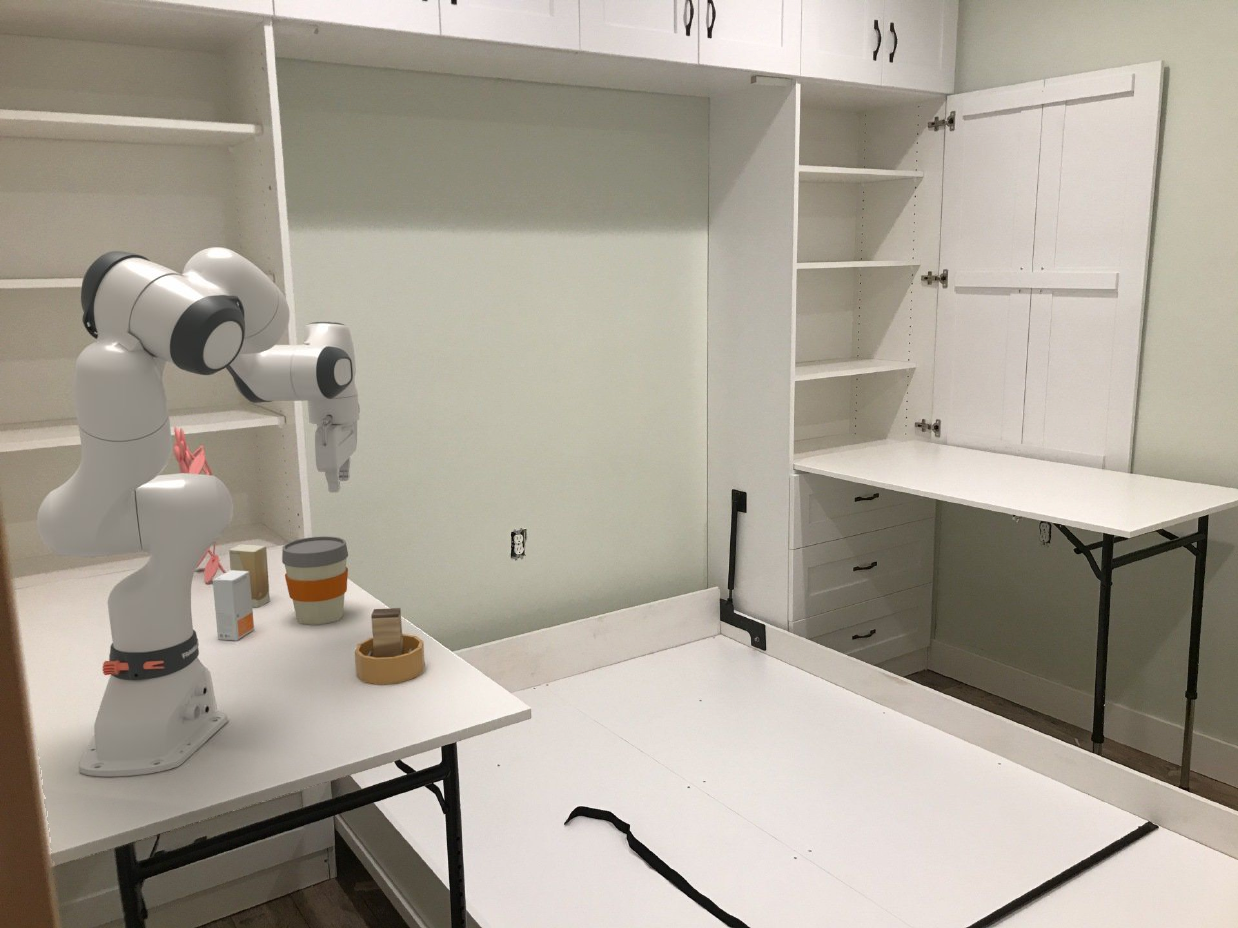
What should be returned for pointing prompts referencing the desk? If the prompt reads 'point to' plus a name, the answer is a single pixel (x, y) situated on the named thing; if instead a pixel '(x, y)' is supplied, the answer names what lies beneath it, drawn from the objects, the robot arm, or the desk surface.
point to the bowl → (390, 662)
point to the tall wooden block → (387, 632)
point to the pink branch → (196, 467)
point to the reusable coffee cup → (316, 578)
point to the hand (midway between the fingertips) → (339, 485)
